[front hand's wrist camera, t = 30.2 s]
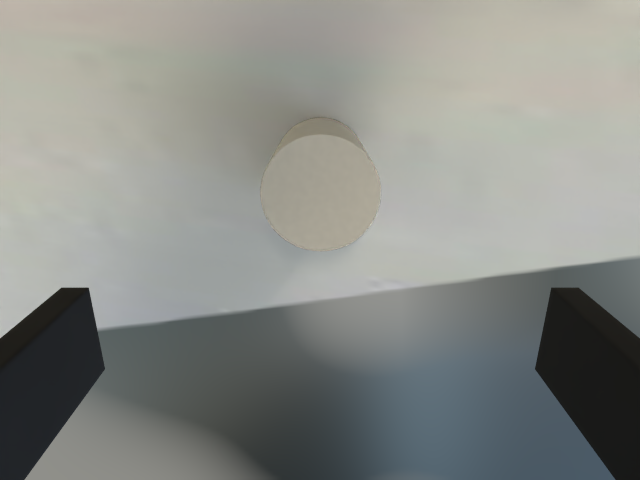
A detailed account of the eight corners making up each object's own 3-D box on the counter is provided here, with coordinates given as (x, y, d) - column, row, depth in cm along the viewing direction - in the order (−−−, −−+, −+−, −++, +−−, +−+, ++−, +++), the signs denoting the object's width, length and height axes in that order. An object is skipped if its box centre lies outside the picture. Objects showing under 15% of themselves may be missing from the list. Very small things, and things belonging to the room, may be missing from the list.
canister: (280, 112, 35) (265, 126, 26) (371, 123, 36) (391, 142, 26) (272, 201, 38) (256, 244, 28) (357, 211, 38) (370, 257, 29)
